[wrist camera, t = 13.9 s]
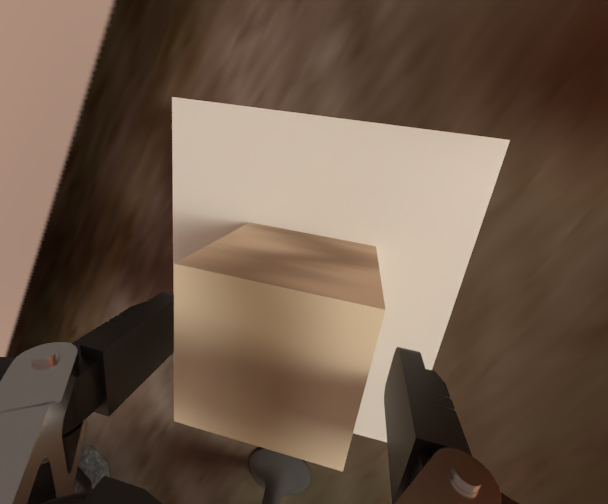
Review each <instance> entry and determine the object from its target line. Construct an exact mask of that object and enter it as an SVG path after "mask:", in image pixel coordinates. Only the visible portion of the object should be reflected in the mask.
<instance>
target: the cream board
mask: <svg viewBox="0 0 608 504" xmlns="http://www.w3.org/2000/svg"><path fill="white" fill-rule="evenodd" d="M509 142H510V140H506V139H498V138H491V137H483V136H475V135H467V134H459V133H451V132H443V131H436V130H428V129H420V128H412V127H404V126H396V125H388V124H380V123H373V122H365V121H357V120H349V119H341V118H333V117H325V116H318V115H310V114H302V113H294V112H286V111H278V110H270V109H262V108H255V107H247V106H239V105H231V104H223V103H215V102H207V101H200V100H192V99H184V98H176V97H172V168H173V294H174V263H176V262H178V261H180V260H181V259H183V258H185V257H187V256H189V255H191V254H192V253H194V252H196V251H198V250H200V249H202V248H204V247H205V246H207V245H209V244H211V243H213V242H215V241H216V240H218V239H220V238H222V237H224V236H226V235H227V234H229V233H231V232H233V231H235V230H237V229H238V228H240V227H242V226H244V225H246V224H248V223H249V222H251V223H256V224H261V225H267V226H272V227H277V228H282V229H288V230H293V231H298V232H303V233H309V234H314V235H319V236H325V237H330V238H335V239H340V240H346V241H351V242H356V243H361V244H367V245H372V246H376V250H377V257H378V263H379V270H380V276H381V283H382V290H383V296H384V303H385V314H384V317H383V321H382V325H381V329H380V333H379V336H378V340H377V344H376V348H375V351H374V355H373V359H372V363H371V367H370V370H369V374H368V378H367V382H366V385H365V389H364V393H363V397H362V401H361V404H360V408H359V412H358V416H357V419H356V423H355V427H354V431H353V433H354V434H358V435H362V436H365V437H369V438H373V439H376V440H380V441H384V442H387V432H386V420H385V408H384V391H385V385H386V381H387V377H388V374H389V370H390V367H391V363H392V360H393V356H394V353H395V350H396V348H397V347H401V348H405V349H409V350H414V351H418V352H420V353H421V356H422V359H423V362H424V366H425V369H428V370H432V368H433V365H434V362H435V359H436V356H437V353H438V350H439V347H440V344H441V341H442V338H443V335H444V333H445V330H446V327H447V324H448V321H449V318H450V315H451V312H452V309H453V306H454V303H455V300H456V297H457V294H458V292H459V289H460V286H461V283H462V280H463V277H464V274H465V271H466V268H467V265H468V262H469V259H470V256H471V253H472V250H473V248H474V245H475V242H476V239H477V236H478V233H479V230H480V227H481V224H482V221H483V218H484V215H485V212H486V209H487V206H488V204H489V201H490V198H491V195H492V192H493V189H494V186H495V183H496V180H497V177H498V174H499V171H500V168H501V165H502V162H503V160H504V157H505V154H506V151H507V148H508V145H509Z"/></svg>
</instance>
